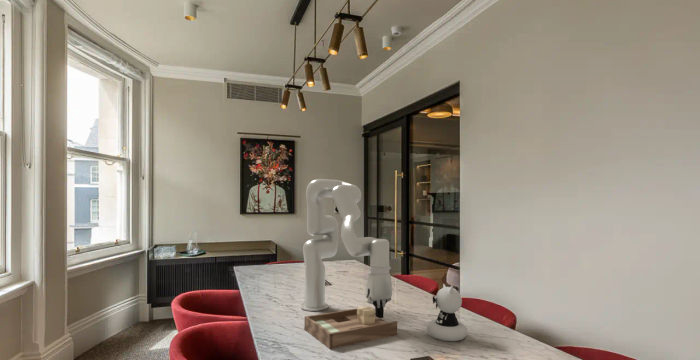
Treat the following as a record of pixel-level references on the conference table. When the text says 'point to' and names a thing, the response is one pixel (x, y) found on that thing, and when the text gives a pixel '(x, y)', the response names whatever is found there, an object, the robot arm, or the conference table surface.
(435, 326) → the decorative figurine
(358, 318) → the maple block
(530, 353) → the conference table surface
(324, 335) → the box
